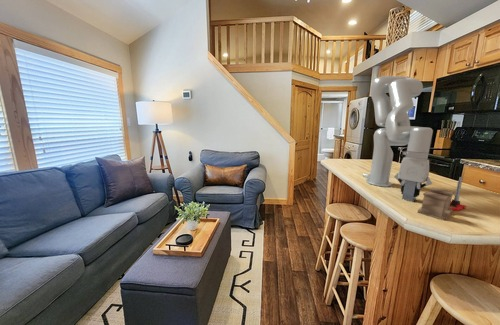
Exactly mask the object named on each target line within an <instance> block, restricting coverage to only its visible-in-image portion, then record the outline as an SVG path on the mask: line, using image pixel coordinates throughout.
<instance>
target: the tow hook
mask: <svg viewBox="0 0 500 325" xmlns="http://www.w3.org/2000/svg"><path fill="white" fill-rule="evenodd" d="M462 180H463V177H462V176H459V179H458V181H457V186H456V190H455V193H454V197H453V199H451V203H450V207H449V208H450V209H453V210H452V211H455V212H457V211H458V212H459V211H463V210H465V209H466V208H467V205H463V204H461V200H460V196H461V194H460V193H461V188H462ZM451 206H453V207H451Z"/></svg>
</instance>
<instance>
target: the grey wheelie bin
mask: <svg viewBox="0 0 500 325" xmlns="http://www.w3.org/2000/svg"><path fill="white" fill-rule="evenodd" d="M416 187H417V182H413V181H408V180H405V185H404V190H403V194H402V196H401V197H402V198H401V200H403V199H404V201H408V202H411V203H413V202H414V201H416V198H417V197H414V193H415V189H416Z"/></svg>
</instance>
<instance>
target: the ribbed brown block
mask: <svg viewBox="0 0 500 325" xmlns="http://www.w3.org/2000/svg"><path fill="white" fill-rule="evenodd" d="M422 194H423V199H422V203H421V204H422V205H421V207H419V208H418V209H417V214H421V215H424V216H429V217H431V218H435V219H438V220H441V221H446V219H447V218H449V216H450V215H451V214H452V212H453V211H454V210H453V209H450V208H449V207H451V204H450V203H451V201H452V200H453V199H452V197H453V195H455V191H452V190H447V189H442V188H438V187H431V188H430V189H429V191H425V192H423V193H422Z"/></svg>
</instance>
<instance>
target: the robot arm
mask: <svg viewBox="0 0 500 325" xmlns="http://www.w3.org/2000/svg"><path fill="white" fill-rule="evenodd" d="M423 89H424V85H423V83H422V81H421V80H420V79H416V78H413V77H409V76H392V75H387V76H386V75H384V76H379V77H376V78H374V80H373V81H372V83H371V85H370V97H371V99H372V103H373V108H374V118H375V119H374V120H375V124H376V125H377V126H378V127H380V128H378V129H376V130H375V131H374V134H373V152H372V160H371V167H370V168H371V169H370V173H369V174H368V173H363V174H362V177H363V178H366V180H365V182H366V183H367V184H369V185H372V186H377V187H378V186H379V187H384V188H385V187H392V185H393V183H392V182H390V177H391V171H392V164H393V159H394V152H393V150H392V148H391V146H393V147H394V146H395V147H396V146H400V147H403V146H407V148H406V151H402V155H404V157H402V160H401V162H400V163H401V164H400V166H399V170H398V172H397V173H396V174H395V175H394V176H393V177H394V178H395V179H396V180H397V181H398V183H399V184H400V186H401V187H400V192H401V195H403V190H404V185H405V180H408V181H413V182H417V187H416V189H415V193H414V197H416V198H418V197H419V196H420V193H421V189H423V188H424V187H429V186H432V185H433V182H432V180H431V179H430V176H429V173H430V159H429V158H428V157H429V154H430V147H431V144H432V137H433V132H434V131H433V129H432V128H431V127H423V126H415V125H414V126H412V125H411V120H410V116H409V114H408V112H409V111H411V110H412V109H413V107H414V100H413V98H415V97H418V96H420V95H421V93H422V92H423ZM387 93H388V94H389V96H388V95H387Z"/></svg>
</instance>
